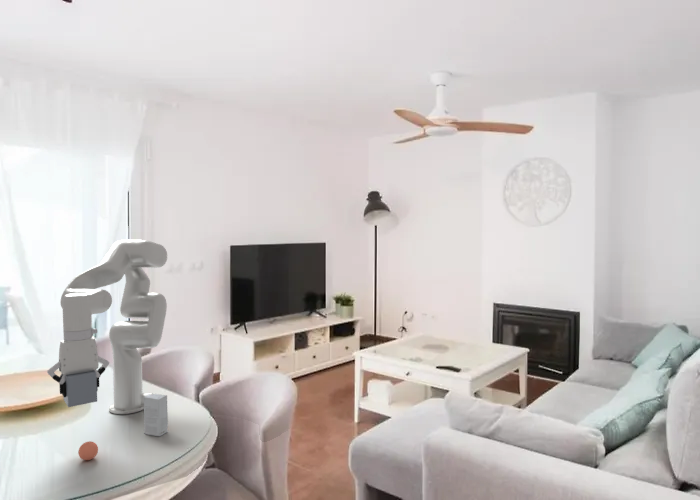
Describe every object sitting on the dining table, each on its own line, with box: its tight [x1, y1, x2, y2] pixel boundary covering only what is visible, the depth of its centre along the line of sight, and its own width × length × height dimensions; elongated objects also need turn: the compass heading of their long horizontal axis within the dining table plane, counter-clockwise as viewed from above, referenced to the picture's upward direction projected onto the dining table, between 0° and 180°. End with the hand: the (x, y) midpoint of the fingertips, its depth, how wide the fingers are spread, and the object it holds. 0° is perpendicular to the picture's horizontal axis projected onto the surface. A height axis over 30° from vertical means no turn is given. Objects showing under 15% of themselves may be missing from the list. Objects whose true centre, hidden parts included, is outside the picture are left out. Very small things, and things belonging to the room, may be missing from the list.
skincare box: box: [143, 392, 169, 437], centre depth 166 cm, size 6×4×12 cm
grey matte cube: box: [62, 371, 98, 408], centre depth 156 cm, size 8×8×9 cm
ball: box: [77, 440, 99, 461], centre depth 147 cm, size 5×5×5 cm
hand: (80, 392), depth 156 cm, fingers closed on grey matte cube, 7 cm apart
